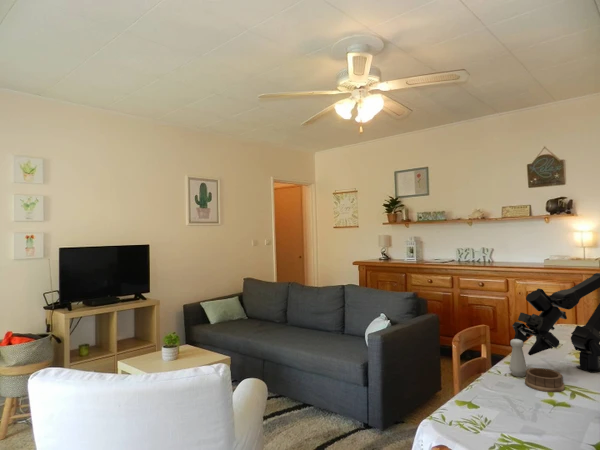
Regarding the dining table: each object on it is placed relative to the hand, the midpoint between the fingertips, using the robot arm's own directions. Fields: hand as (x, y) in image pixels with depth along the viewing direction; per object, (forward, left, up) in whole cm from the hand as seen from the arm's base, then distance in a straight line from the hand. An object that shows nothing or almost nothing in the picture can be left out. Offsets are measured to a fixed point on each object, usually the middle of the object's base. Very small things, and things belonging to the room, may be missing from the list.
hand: (520, 350), depth 147 cm
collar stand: (+1, +11, -9) cm, 14 cm away
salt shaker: (+1, 0, -9) cm, 9 cm away
